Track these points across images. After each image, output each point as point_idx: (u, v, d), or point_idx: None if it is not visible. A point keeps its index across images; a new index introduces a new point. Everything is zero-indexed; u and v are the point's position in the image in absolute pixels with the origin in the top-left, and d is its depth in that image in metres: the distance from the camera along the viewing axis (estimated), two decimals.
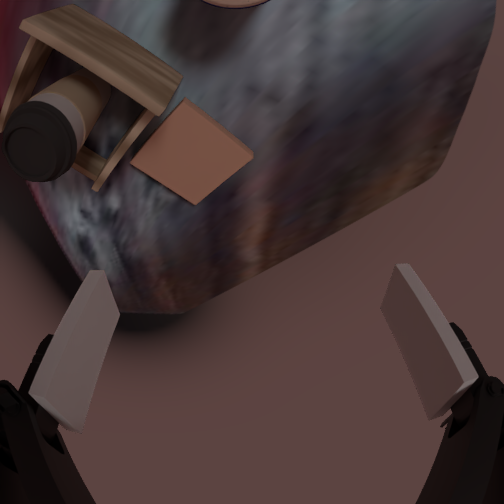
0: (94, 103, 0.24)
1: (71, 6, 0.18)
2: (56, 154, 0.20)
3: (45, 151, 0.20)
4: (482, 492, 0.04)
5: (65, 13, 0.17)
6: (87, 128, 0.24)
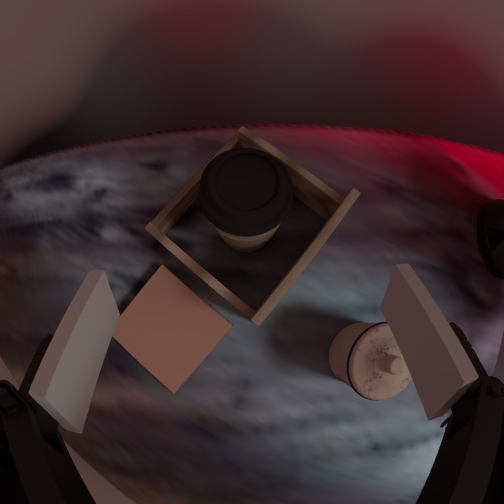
0: (252, 245, 0.33)
1: None
2: (241, 216, 0.25)
3: (244, 202, 0.26)
4: (482, 492, 0.04)
5: None
6: (237, 241, 0.30)
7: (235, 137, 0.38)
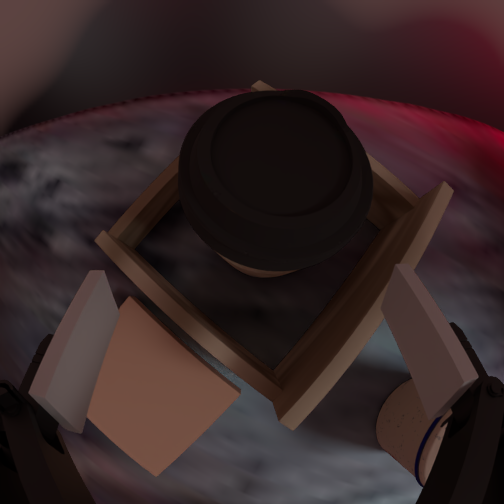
0: (278, 275, 0.18)
1: None
2: (272, 228, 0.11)
3: (279, 196, 0.11)
4: (482, 492, 0.04)
5: None
6: (255, 272, 0.15)
7: None
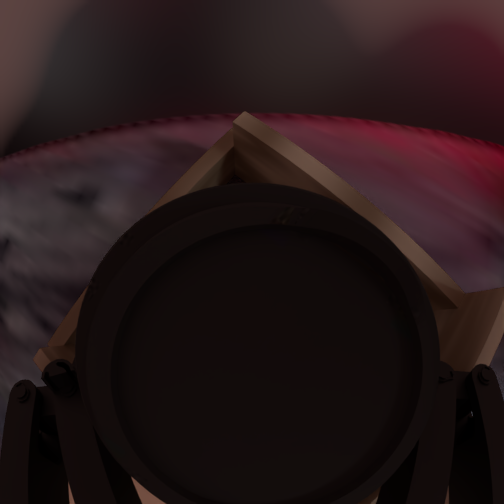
0: None
1: None
2: None
3: (261, 479, 0.04)
4: (444, 484, 0.04)
5: None
6: None
7: (227, 138, 0.17)
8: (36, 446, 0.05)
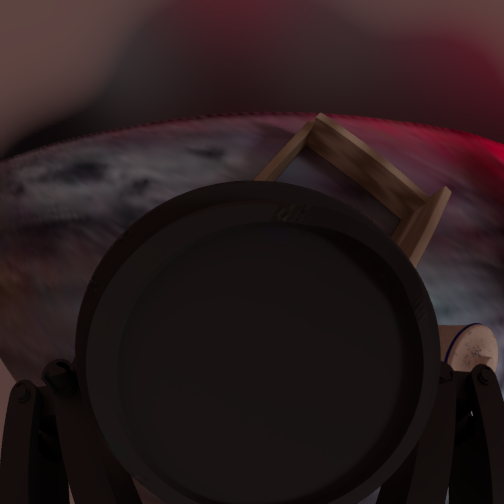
0: None
1: None
2: None
3: (261, 477, 0.04)
4: (444, 483, 0.04)
5: None
6: None
7: (308, 124, 0.33)
8: (36, 446, 0.05)
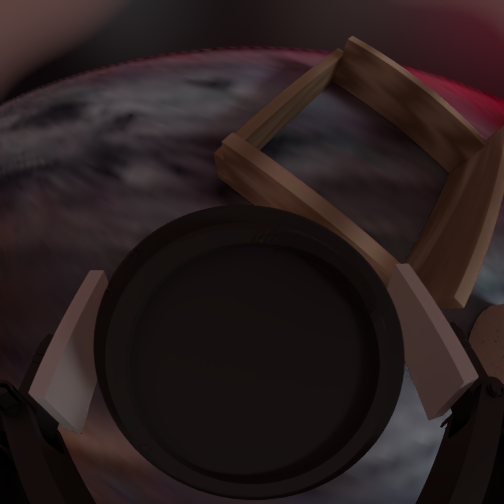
0: None
1: None
2: (233, 494, 0.05)
3: (245, 449, 0.06)
4: (482, 492, 0.04)
5: None
6: None
7: (337, 52, 0.23)
8: None
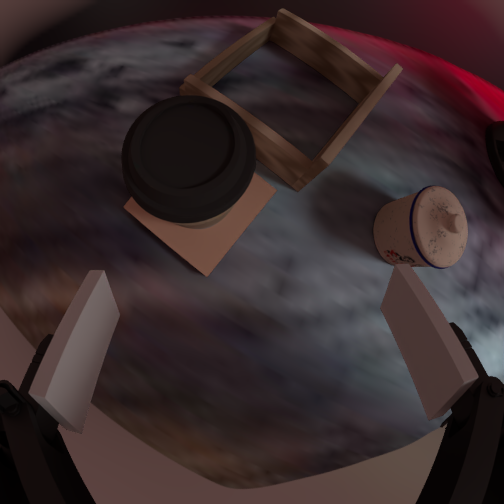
0: (201, 226, 0.24)
1: None
2: (175, 196, 0.16)
3: (182, 175, 0.16)
4: (482, 492, 0.04)
5: None
6: (178, 224, 0.21)
7: (271, 19, 0.30)
8: None
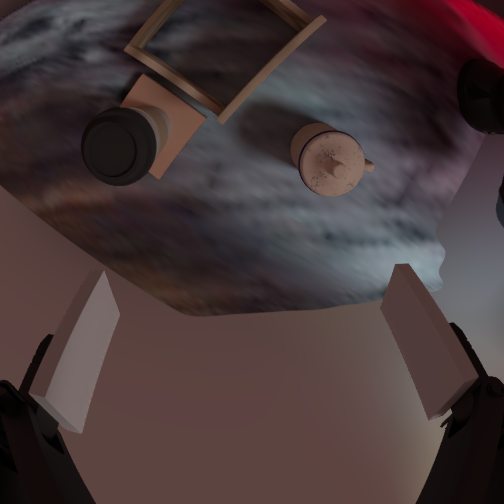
0: None
1: None
2: (111, 181, 0.28)
3: (113, 168, 0.28)
4: (482, 492, 0.04)
5: None
6: None
7: None
8: None
